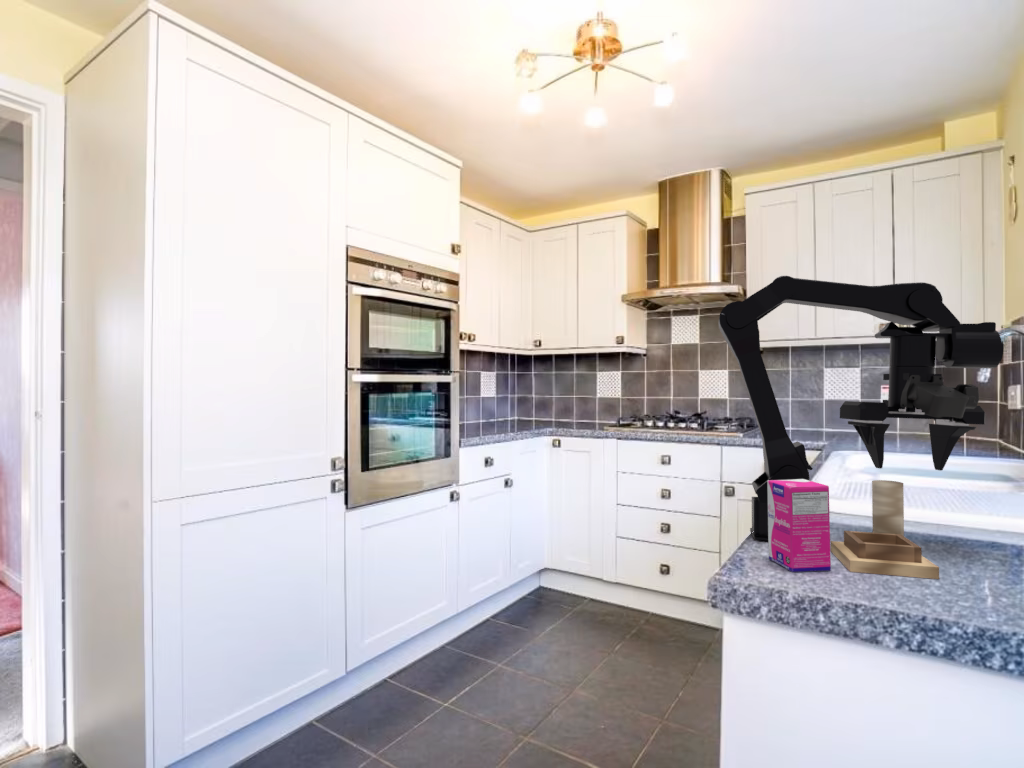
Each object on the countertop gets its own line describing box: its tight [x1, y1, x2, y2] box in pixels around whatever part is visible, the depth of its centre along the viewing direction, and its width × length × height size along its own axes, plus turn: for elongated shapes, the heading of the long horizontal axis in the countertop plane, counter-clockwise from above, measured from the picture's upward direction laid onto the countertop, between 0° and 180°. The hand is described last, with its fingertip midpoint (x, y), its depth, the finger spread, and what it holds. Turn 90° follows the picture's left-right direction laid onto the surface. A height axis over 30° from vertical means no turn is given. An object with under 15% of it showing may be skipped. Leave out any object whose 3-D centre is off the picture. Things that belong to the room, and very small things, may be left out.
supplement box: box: [767, 479, 832, 573], centre depth 76 cm, size 6×6×12 cm
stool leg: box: [871, 479, 905, 537], centre depth 85 cm, size 4×4×10 cm
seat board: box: [830, 530, 940, 580], centre depth 77 cm, size 10×10×4 cm
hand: (908, 469), depth 85 cm, fingers open, 9 cm apart
